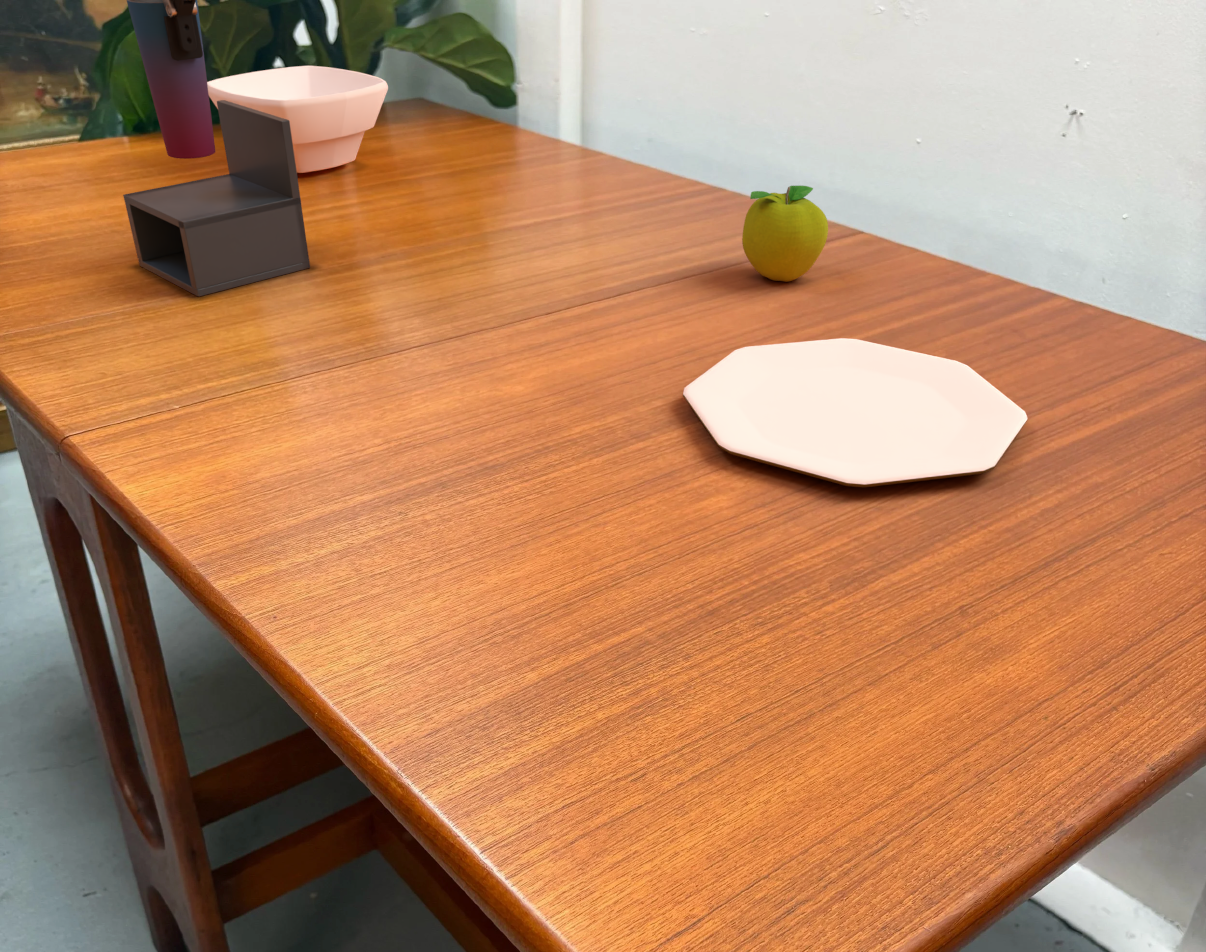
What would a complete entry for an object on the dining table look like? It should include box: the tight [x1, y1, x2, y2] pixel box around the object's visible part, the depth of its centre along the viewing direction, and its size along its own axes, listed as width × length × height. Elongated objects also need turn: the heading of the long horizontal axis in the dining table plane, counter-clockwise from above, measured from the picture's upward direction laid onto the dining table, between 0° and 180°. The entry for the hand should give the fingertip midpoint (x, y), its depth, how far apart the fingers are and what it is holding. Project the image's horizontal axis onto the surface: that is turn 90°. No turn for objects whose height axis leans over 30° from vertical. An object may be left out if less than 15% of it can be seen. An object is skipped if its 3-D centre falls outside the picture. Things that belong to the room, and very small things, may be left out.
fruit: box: [741, 185, 829, 283], centre depth 126 cm, size 9×9×10 cm
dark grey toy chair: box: [122, 100, 311, 297], centre depth 126 cm, size 14×14×16 cm
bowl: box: [207, 65, 389, 174], centre depth 164 cm, size 22×22×12 cm
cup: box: [126, 0, 216, 160], centre depth 119 cm, size 7×7×15 cm
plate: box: [682, 337, 1028, 488], centre depth 99 cm, size 28×28×2 cm
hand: (171, 52), depth 118 cm, fingers closed on cup, 6 cm apart
